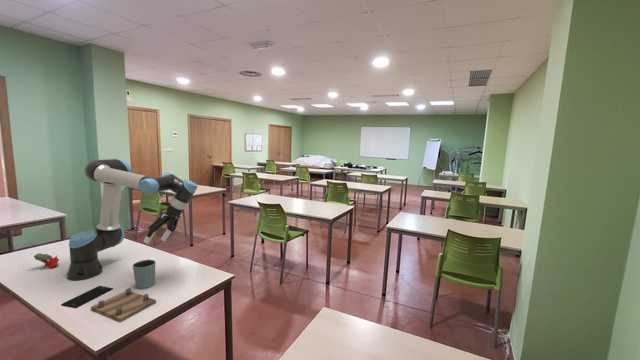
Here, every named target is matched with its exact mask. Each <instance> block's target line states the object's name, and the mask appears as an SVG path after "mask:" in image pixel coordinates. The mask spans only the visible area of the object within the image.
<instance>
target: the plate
mask: <svg viewBox="0 0 640 360" xmlns="http://www.w3.org/2000/svg"><path fill="white" fill-rule="evenodd" d="M156 303H157V299H154V298H151V297H149V293H145V294H143V295H142V294H140V293H136V292H133V291H132V288H130V287H129V288H126V289H125V291H123V292H121V293H118V294H116V295H114V296H112V297H110V298H108V299H105V300H104V299H103V300H99V301H98V303H96V304H94V305H92V306H90V310H91V311H93V312H95V313H98V314H100V315H103V316H105V317H107V318H109V319H112V320H115V321H117V322H120V323H121V322H123V321H125V320H128V319H130V318H131V317H133V316H134V315H136V314H138V313H140V312H142V311H145V310H146V309H148V308H149V307H151V306H154V305H155V304H156Z"/></svg>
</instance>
